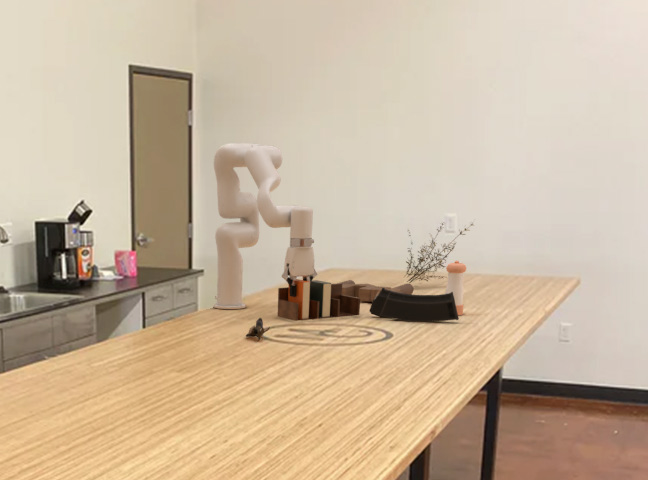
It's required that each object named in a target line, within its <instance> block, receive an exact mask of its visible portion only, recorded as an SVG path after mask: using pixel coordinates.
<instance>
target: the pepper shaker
mask: <svg viewBox="0 0 648 480" xmlns="http://www.w3.org/2000/svg"><path fill="white" fill-rule="evenodd" d="M445 269H446V272H447V281H446V282H447V283H446V288H445V292H444V294H448V293H451V292H453V296H454V299H455V304H456V309H457V313H458V316H463V314H464V276H465V275H464V273H465V272H466V271H467V265H466V264H465V263H462V262H460V261H459V260H454V262H450V263H448V264H447V265H446V267H445Z"/></svg>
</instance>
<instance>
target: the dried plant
mask: <svg viewBox="0 0 648 480" xmlns="http://www.w3.org/2000/svg"><path fill="white" fill-rule="evenodd" d="M474 222H475V220H473V222H472V221H471V222H470V225H469V226H468V227H466V225H464V230H460V231H459V234H458V235H457V236H456V237H455V238H454V239H453V240H452V241H451V242H450V245H449V243H448V244H447V245H446V243H444V244H440V245H441V247H442V251H440V249H437V251H436V249H435V248H436V247H437V245H438V243H437V242H436V238H437V236H438V234H436V235H435V238H434V237H433V235H432V234H430V237H432V238H431V239H432V240H430V241H429V243H430V245H427V247H426V243H424V245H423V247H422V246H419V248H420V251H419V250H417V253H419V254H420V255H419V254H417V264H415V263H416V261H415V260H413V259H414V258H415V257H414V255H415V254H414V253H412V249H411V248H410V247H407V252H409V253H410V259H408V257H407V260H408V261H405V263H406V264H408V265H407V267H406V274H405V275H404V277H407V278H409V279H407V281H406V283H408V284H411V283H412V282H414V281H418V282H420V281H421V282H422V281H426V282H429V281H431V279H430V278H432V279H436V278H437V275H435V274H432V275H429V274H430V273H435V272H436V273H437V272H438V269H441V270H442V269H444V268H447V265H446V266H445V265H444V263H447V258H448V256H449V254H450V253H451V252H453V251H454V249H455V245H457V243H455V240H456V239H457V238H458V237H459V236H461V235H462V236H465V235H466V233H463V232H467V231H470V229H469V228H470V227H471V226H474ZM439 224H441V225H440V226H439V227H438V226H437V228H436V230H437V233H440V232H441V231H442V229H444V227H443V225H444V226H445V224H446V222H444V221H442V222H441V223H440V222H439ZM407 232H408V234H407V236H408V237H411V232H410V230H409V229H407ZM451 244H452V245H451ZM410 245H413V240H412V239H411V240H410ZM408 249H409V250H408ZM430 249H431V250H430ZM433 251H434V252H433ZM446 251H447V254H445V255H444V256H443V254H442V252H444V253H446ZM432 253H433V254H432ZM428 260H429V261H428ZM443 261H444V262H443ZM435 262H436V263H435ZM419 266H420V267H419ZM425 266H426V267H425ZM432 268H434V270H432ZM410 270H411V271H410ZM413 272H414V273H413ZM426 273H427V274H428V275H427V274H426ZM444 278H446V279H448V276H443V275H442V276H441V275H438V280H441V279H443V280H444Z"/></svg>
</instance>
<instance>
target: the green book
mask: <svg viewBox="0 0 648 480" xmlns="http://www.w3.org/2000/svg"><path fill="white" fill-rule="evenodd" d="M331 284H332V282H328V281H323V280H317V279H315V280H314V279H313V280H312V281H311V282H310V294H309V299H310V300H314V301H319V317H330V299H331Z"/></svg>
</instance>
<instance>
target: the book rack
mask: <svg viewBox="0 0 648 480" xmlns="http://www.w3.org/2000/svg"><path fill="white" fill-rule="evenodd" d="M339 283H340V282H339ZM288 290H289V286H288V287H287V286H286V287H278V289H277V291H278V292H277V317H279V318H283V319H288V320H292V321H295V322H297V321H308V320H310V321H311V320H320V319H321V320H322V319H330V318H331V319H332V318H343V317H354V316H355V317H356V316H360V310H361V309H360V306H361V301H360V298H359V297H351V296H346V295H342V284H341V283H340V284H337V283H331V299H330V317H319V301H314V300H310V299H309V319H298V303H295V302H290V301H288Z"/></svg>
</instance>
